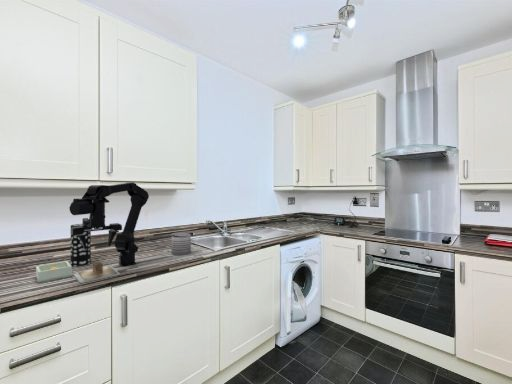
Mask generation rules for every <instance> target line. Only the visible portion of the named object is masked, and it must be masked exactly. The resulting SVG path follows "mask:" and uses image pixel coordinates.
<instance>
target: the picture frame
mask: <svg viewBox="0 0 512 384" xmlns="http://www.w3.org/2000/svg"><path fill="white" fill-rule="evenodd" d="M110 267H111V268H112V269H113V270H115V271H116V272H117V274H114V275H110V276H105V277H100V278H96V279H91V280H87V281H84V280H83V279H82V277H81V276H80V275H79V272H78V273H74V274H73V276H74V278H75V279H76V278H77V279H76V280H77V282H79V284H84V283H88V282H89V283H90V282H93V281H97V280H102V279H106V278H111V277H116V276H119V275H120V276H121V273H120V271H118V270H117V269H116V268H114V267H113V266H110Z"/></svg>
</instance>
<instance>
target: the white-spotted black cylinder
mask: <svg viewBox="0 0 512 384" xmlns="http://www.w3.org/2000/svg"><path fill="white" fill-rule="evenodd" d="M78 226H82V227H84V228H87V226H83V224H82V223H77V224H76V223H75V224H71V225H70V229H71V228H72V227H78ZM84 234H85V239H86V250H84V247H83V245H82V242H81V240H80V239H79V237H76V236H75V235H72V234H71V233H70V265H71V266H72V267H85V266H87V265H90V264H91V263H92V260H91V259H92V255H91V254H92V250H91V249H92V248H91V247H92V245H91V244H92V243H91V242H92V237H91V236H92V231H89V232H84Z"/></svg>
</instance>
